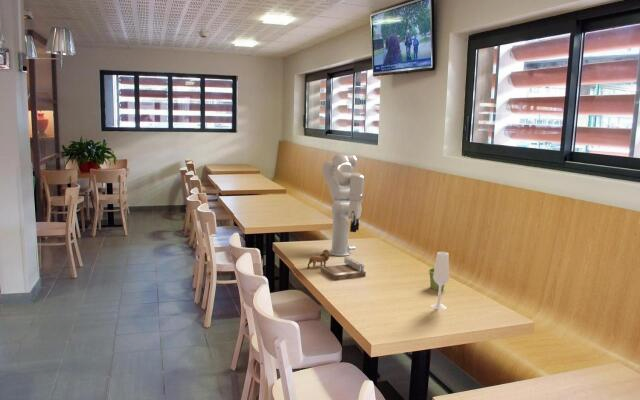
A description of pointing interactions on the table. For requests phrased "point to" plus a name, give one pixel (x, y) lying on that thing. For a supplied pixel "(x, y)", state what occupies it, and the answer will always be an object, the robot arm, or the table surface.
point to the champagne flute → (441, 276)
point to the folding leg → (354, 264)
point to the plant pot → (432, 282)
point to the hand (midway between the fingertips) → (354, 230)
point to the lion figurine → (319, 258)
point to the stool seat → (342, 272)
